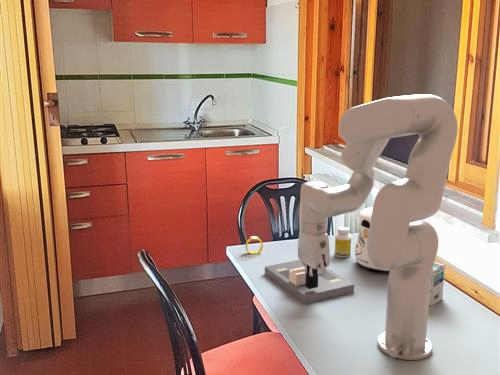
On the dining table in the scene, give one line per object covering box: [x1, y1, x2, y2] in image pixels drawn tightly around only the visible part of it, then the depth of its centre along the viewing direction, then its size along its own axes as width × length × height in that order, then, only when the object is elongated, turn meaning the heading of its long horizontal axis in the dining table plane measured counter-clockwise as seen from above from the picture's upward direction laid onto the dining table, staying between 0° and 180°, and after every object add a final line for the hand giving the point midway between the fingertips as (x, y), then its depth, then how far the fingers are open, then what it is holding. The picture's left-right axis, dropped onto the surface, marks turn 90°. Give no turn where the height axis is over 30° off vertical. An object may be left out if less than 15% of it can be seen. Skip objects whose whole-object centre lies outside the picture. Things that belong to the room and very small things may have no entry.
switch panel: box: [264, 259, 355, 305], centre depth 171 cm, size 24×17×2 cm
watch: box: [245, 235, 264, 255], centre depth 196 cm, size 6×3×6 cm, turn 102°
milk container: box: [354, 206, 385, 272], centre depth 183 cm, size 17×17×18 cm
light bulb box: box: [429, 261, 446, 307], centre depth 160 cm, size 11×7×11 cm, turn 47°
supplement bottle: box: [334, 226, 352, 259], centre depth 193 cm, size 5×5×10 cm
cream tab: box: [289, 267, 306, 286], centre depth 165 cm, size 4×5×4 cm
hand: (311, 287), depth 160 cm, fingers closed
